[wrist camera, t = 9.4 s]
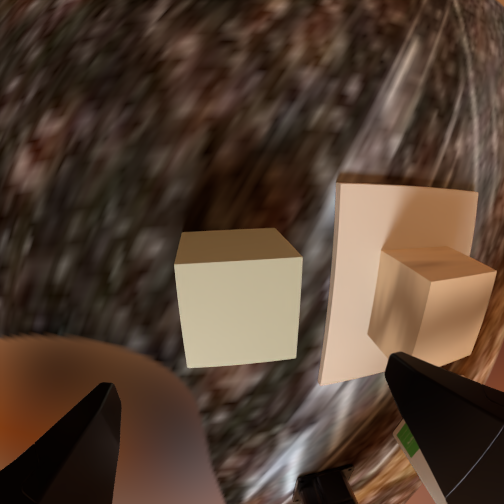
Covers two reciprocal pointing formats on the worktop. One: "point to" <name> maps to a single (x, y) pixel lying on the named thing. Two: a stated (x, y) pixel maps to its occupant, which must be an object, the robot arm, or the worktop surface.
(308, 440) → the worktop surface
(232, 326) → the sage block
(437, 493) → the skincare box
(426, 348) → the maple block
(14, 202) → the worktop surface
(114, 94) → the worktop surface
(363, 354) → the baseplate
